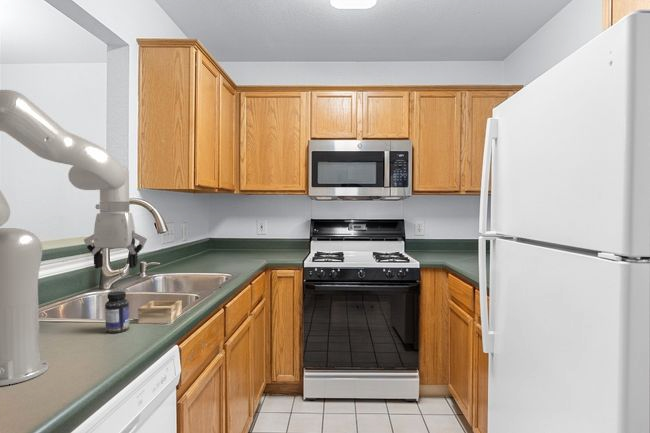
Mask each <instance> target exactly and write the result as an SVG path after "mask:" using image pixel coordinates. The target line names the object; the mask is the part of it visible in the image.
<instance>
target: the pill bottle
mask: <svg viewBox="0 0 650 433" xmlns="http://www.w3.org/2000/svg"><path fill="white" fill-rule="evenodd" d="M126 293H127V292H126V291H123V290H120V291H119V290H117V291H112V292H108V293H107V300H108V301H106V302H105V304H104V310H105V312H104V315H105V318H104V319H105V331H106V333H107V334H119V333H124V332H127V331H129V329H130V307H129V306H130V304H129V303H130V302H129V301H128V299H126V297H127V296H126V295H127V294H126Z"/></svg>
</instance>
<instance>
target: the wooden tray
mask: <svg viewBox="0 0 650 433" xmlns="http://www.w3.org/2000/svg"><path fill="white" fill-rule="evenodd" d="M182 302H183V300H150V301H149V302H147V303H145V304H144V305H142V306H140V307H139V308H138V309H137V314H138V315H137V316H138V318H137V319H138V322H137V323H138V324H172V323H173V322H174V321H176V318H177V317H178V316H179V315H180V314H181V313H183V312H182V311H183V307H182V306H183V305H182ZM181 315H182V314H181ZM181 315H180V316H181ZM180 316H179V317H180ZM179 317H178V318H179ZM178 318H177V319H178ZM167 322H169V323H167Z"/></svg>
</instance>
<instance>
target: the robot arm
mask: <svg viewBox="0 0 650 433" xmlns="http://www.w3.org/2000/svg"><path fill="white" fill-rule="evenodd" d="M0 132H4V133H6V134H7V135H8V136H10V137H11V138H13V139H14V140H16V141H17V142H19V144H21V145H22V146H24V147H26V148H27V149H28V150H29V151H30V152H32V153H34V154H35V155H36V156H37V157H39V158H41V159H44V160H47V161H51V162H54V163H58V164H64V165H68V166H69V165H70V166H71V167H70V169H69V170H68V173H67V174H68V181H69V182H70V183H71V185H72V186H73V187H74V188H77V189H80V190H83V191H99V203H98V204H95V207H94V208H95V209H96V210H99V212H98V213H96V217H95V222H94V229H93V234H91V235H90V236H87V237H86V238H84V239H83V242H84V244H85V246H86V248H87V249H88V251H90V252H91V255H93V265H94V269H97V270H98V269H102V267H103V266H104V259H103V258H104V255H103V253H102V251H104V249H127V250H128V251H129V252H130V254H129V255H128V263H129V266H128V267H129V269H134V268H137V265H138V263H139V262H138V260H139V259H138V254H139V253H140V251H141V250H143V249H144V246H145V244H146V242H147V238H146V237H145V236H143V235H140V234H138V233H137V232H136V230H135V228H136V227H135V222H134V217H133V213H132V212H130V174H129V173H130V172H129V168H128V167H127V166H124V165H123V164H122V163H121V162H120V161H119V160H118V159H117V158H116V157H115V156H114V155H113V154H112V153H111V152H109V151H108V150H106V149H105V148H104V147H102V146H101V145H99V144H97V143H94V142H92V141H90V140H88V139H86V138H83V137H81V136H79V135H76V134H74V133H71V132H69V131H68V130H65V129H64V128H63V127H61V125H60V124H58V123H57V122H56V121H55V120H54V119H53V118H51V117H50V116H49V115H48V114H46V113H45V112H44V111H43V110H42V109H41V108H40V107H39V106H37V105H36V104H35V103H33V102H32V100H30V99H29V98H28V97H27V96H25V95H23V94H22V93H20V92H18V91H16V90H12V89H0ZM10 216H11V208H10V205H9V203H8V200H7V199H6V197H5V196H4V193H3V192H2V190H1V189H0V387H2V386H9V384H10V385H13V384H14V385H15V384H19V383H21V382H25V381H28V380H30V379H33V378H36V377H38V376H40V375H42V374H43V373H45V372H46V371H47V370H48V369H49V361H48V360H47V359H44V358H41V356H40V355H41V354H40V350H41V349H40V320H39V319H40V316H39V314H40V313H39V312H40V311H39V310H40V309H39V275H40V274H39V272H40V266H41V263H42V257H43V244H42V242H41V240H40V238H39V237H38V236H37V235H36V234H34V233H33V232H31V231H29V230H26V229H22V228H17V227H16V228H15V227H2V226H4V225H5V224H6V223H7V222H8V221H9V219H10ZM136 240H137V241H139V242H138V244H137V245H136Z"/></svg>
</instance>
